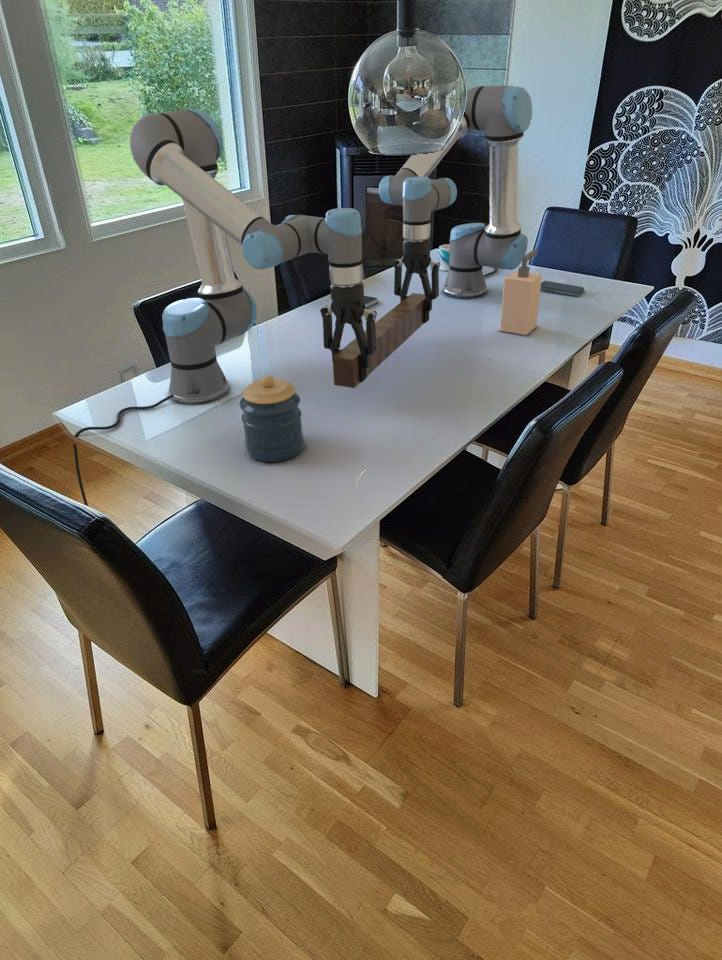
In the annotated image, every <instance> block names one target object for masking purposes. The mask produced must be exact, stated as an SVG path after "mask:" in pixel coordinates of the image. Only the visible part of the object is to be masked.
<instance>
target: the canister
mask: <svg viewBox="0 0 722 960" xmlns="http://www.w3.org/2000/svg"><path fill="white" fill-rule="evenodd" d="M241 395H242V398H241V399H240V401H239V408H240V410H241V411H242V415H241V421H242V424H243V430H244V439H245V441H244V444H245V448H246V450H247V454H248V455H249V456H250V458H252V459H254V460H256V461H260V462H265V463H275V462H276V463H277V462H283V461H287V460H289V459H293V458H294V457H296V456H297V455H298V454H300V453H301V452H302V450H303V448H304V443H305V439H304V434H303V426H302V410H301V408H300V407H299V404H300V402H301V396H300V395H299V394H298V393H297V392H296V387H295V385H294V384H292V383H290V382H289V381H286V380H285V379H282V378H277V377H272V376H271V375H268V374H267V375H264V376H263V377H262V378H260V379H257V380H254V381H253V382H251V383H250V384H248V385H247V386H246V387H245V388H244V389H242V392H241Z"/></svg>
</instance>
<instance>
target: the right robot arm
mask: <svg viewBox="0 0 722 960" xmlns="http://www.w3.org/2000/svg"><path fill="white" fill-rule="evenodd" d="M466 91H467V102H466V107H465V112H464V115H463V119H462V122H461V124H460V126H459V128H458V130H457V132H456V134H455V135H454V137H453V138H452V140H451V141H450V143H449V144H448V145H447V146H446V147H445V148H444V149H443V150H441V151H438V152H434V153H428V154H417V155H412V154H411V155H410V156H409V158H408V159H406V162H405V163H404V164H403V165H402V167H401V168H400V169H399V170H398V171H397V173H396V174H395V175H392V174H391V175H385V176H384V177H383V178H381V180H380V182H379V186H378V195H379V198H380V200H381V201H382V202H383V203H385V204H388V205H392V206H402V216H403V219H402V238H403V240H402V253H403V255H402V257H401V258H396V259H394V260H393V261H392V265H393V268H394V279H393V281H394V282H393V294H394V296H398V297H399V298H400V303H401V302H402V301H403V300H404V299H406V298H407V297H408V296H409V295H408V292H409V288H410V286H411V285H410V284H411V281H412V277H413V274H417V275H418V276H419V278H420V282H421V286H422V289H423V292H424V293H423V294H425V297H426V299H425V300H424V301H423V323H424V324H426V323H428V322H429V321H430V312H431V311H432V310H433V300H436V299H437V298H438V297H439V296H440V281H439V280H440V278H439V277H440V276H439V274H440V272H439V271H440V269H439V268H440V262H439V261H437V262H436V261H434V260H432V258H431V239H430V238H431V227H432V226H431V224H432V223H431V221H432V220H431V219H432V218H431V217H432V212H435V211H439V210H441V209H442V210H443V209H445V208H448V207H449V206H451V205H452V204H454V202H456V199H457V195H458V189H457V186H456V183H455V182H454V181H453V180H452V179H451V178H448V177H439V178H438V179H432V178H430V177H429V176H430V175H431V173H432V172H433V171H434V170H435V168H436V167H437V166H438V165H439V164H440V162H441V161H442V160H443V159H444V157H445V156H446V155H447V153H448V152H449V151H450V150H451V148H452V147H453V146H454V144H455V143H456V142H457V140H460V139H463V138H464V137H465V136H466V135H467V133H469V132H472V131H483V132H484V133H483V135H484V141H485V142H486V143H487V144H488V145H489V223H488V224H487V225H486V224H485V223H482V222H471V223H464V224H459V225H456V226H454V227H453V228H452V229H451V230H450V237H449V244H450V260H449V271H447V275H446V278H445V280H444V283H443V287H442V288H443V290H442V292H443V294H444V295H446V296H448V297H450V298H455V299H476V298H481V297H483V296H485V295H486V293H487V284H486V280H485V278H486V277H488V276H490V275H493V274H496V273H497V271H498V269H499V270H502V271H504V270H507V271H515V270H516V269H517V268H519V267H520V265H522V259H523V256H525V255H526V254H527V250H528V244H529V240H528V236H527V235H526V234H524V233H522V226H521V224H520V223H519V222H518V221H517V218H518V217H517V214H518V211H517V210H518V209H517V208H518V174H519V173H518V172H519V142H520V141H521V140H522V139H523V138H524V136H525V135H524V133H525V132H526V131H527V130H528V129H529V127H530V126H531V122H532V121H531V120H532V119H533V102H532V99H531V95H530V93H529V92H528V90H527V89H526V88H525V87H523V86H514V85H488V86H487V85H485V86H484V85H478V86H477V85H476V86H474V87H471V88H469V89H467V90H466ZM403 266H404V267H405V268H406V269H405V271H404V272H405V273H404V279H403ZM429 266H430V270H431V275H430V276H431V277H430V278H431V282H430V279H429V272H428V268H429ZM483 267H487V268H493V269H494V270H493V271H491V272H488V273H485V274H484V271H483ZM402 279H403V281H402Z"/></svg>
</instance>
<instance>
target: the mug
mask: <svg viewBox="0 0 722 960" xmlns="http://www.w3.org/2000/svg"><path fill="white" fill-rule="evenodd" d="M449 260H450V243H448V244H445V243H444V244H442V245H441V244H440V245H439V246H438V262H440V268H439V271H443V272H444V271H446V272H449Z"/></svg>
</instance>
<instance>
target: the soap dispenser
mask: <svg viewBox="0 0 722 960" xmlns="http://www.w3.org/2000/svg"><path fill="white" fill-rule="evenodd" d="M537 255H538V249H532V250H531V251H529V252H527V253H525V256H523V259H522V262H521V266H519V267H518V269H517V270H513V272H511V273H509V274H508V275H507V276H505V277H504V279H503V292H502V304H501V316H500V326H499V327H500V328H499V330H500V331H501V332H506V333H512V334H517V335H523V336H527V335H528V334H530V332H532V331H533V330H534V329H536V328H537V323H538V315H539V306H540V298H541V297H540V296H541V290H540V288H541V283H542V279H543V278H542V277H543V274H542V273H535V272H530V266H528V262H529V261H530V260H532V259H533V258H534V257H536V256H537Z"/></svg>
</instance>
